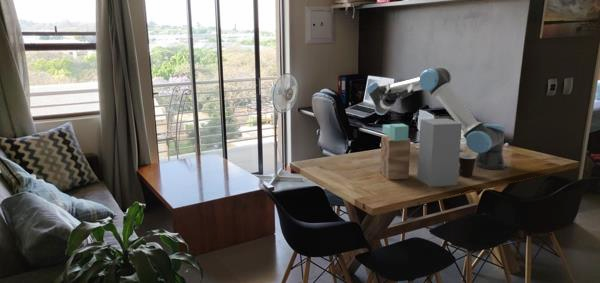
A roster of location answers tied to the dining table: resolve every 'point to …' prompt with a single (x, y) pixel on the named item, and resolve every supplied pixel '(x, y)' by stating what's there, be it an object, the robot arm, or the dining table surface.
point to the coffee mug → (466, 165)
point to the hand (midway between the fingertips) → (401, 85)
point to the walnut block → (395, 158)
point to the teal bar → (396, 131)
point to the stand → (439, 152)
